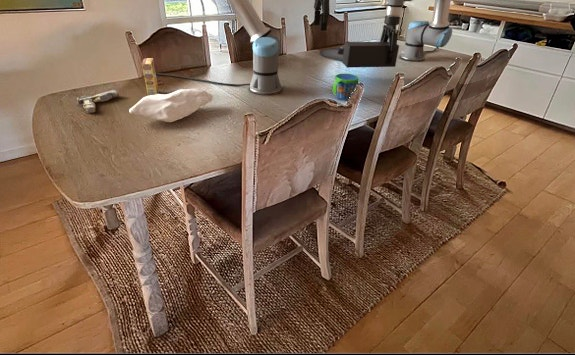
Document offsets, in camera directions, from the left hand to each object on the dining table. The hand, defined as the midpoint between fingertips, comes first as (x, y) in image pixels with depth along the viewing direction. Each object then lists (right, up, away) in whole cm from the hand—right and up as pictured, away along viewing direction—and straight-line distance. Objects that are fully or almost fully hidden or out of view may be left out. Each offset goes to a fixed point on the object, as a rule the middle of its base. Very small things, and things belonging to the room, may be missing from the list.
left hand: (319, 27), depth 174 cm
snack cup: (+11, -34, -2) cm, 36 cm away
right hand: (+37, -10, +21) cm, 43 cm away
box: (+28, -12, +20) cm, 36 cm away
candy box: (-77, -34, -7) cm, 85 cm away
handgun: (-95, -40, -18) cm, 105 cm away
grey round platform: (+23, +9, +67) cm, 71 cm away
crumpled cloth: (-63, -46, -24) cm, 81 cm away
